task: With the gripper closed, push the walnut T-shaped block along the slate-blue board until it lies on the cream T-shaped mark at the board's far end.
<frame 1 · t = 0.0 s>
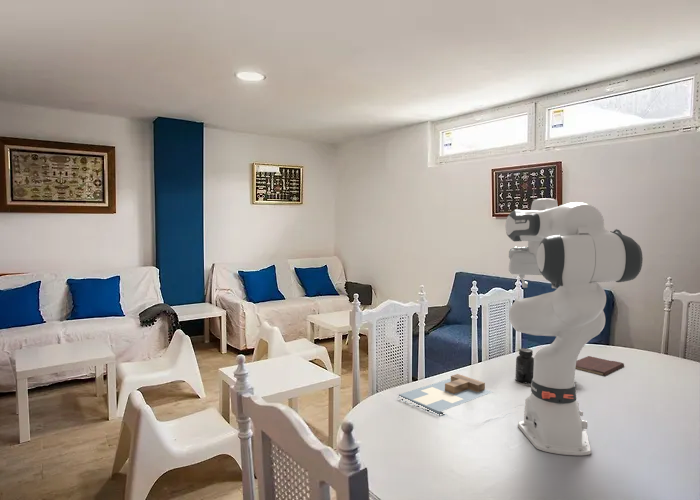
hand: (539, 287, 157), 39 cm above the table, tool pointing down, fingers open, 8 cm apart
board: (446, 397, 161), on the table
coffee mug: (560, 379, 182), on the table
notebook: (595, 368, 198), on the table
supplement bottle: (524, 381, 179), on the table
t block: (460, 388, 166), point 1 cm above the table, touching board
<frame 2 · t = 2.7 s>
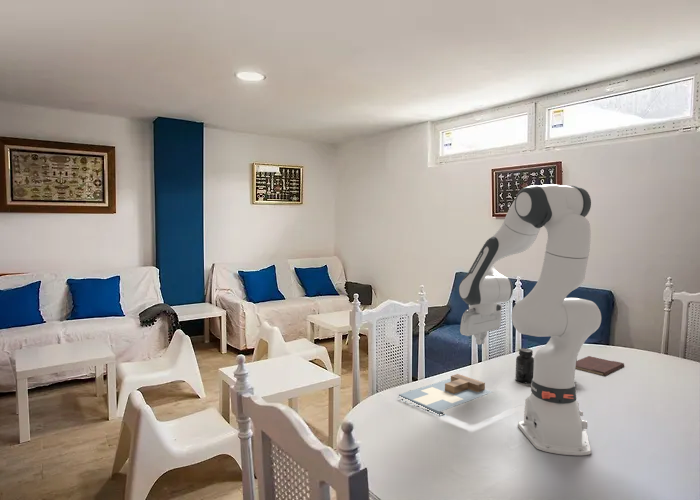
hand: (480, 343, 172), 16 cm above the table, tool pointing down, fingers closed
nothing on the table moved.
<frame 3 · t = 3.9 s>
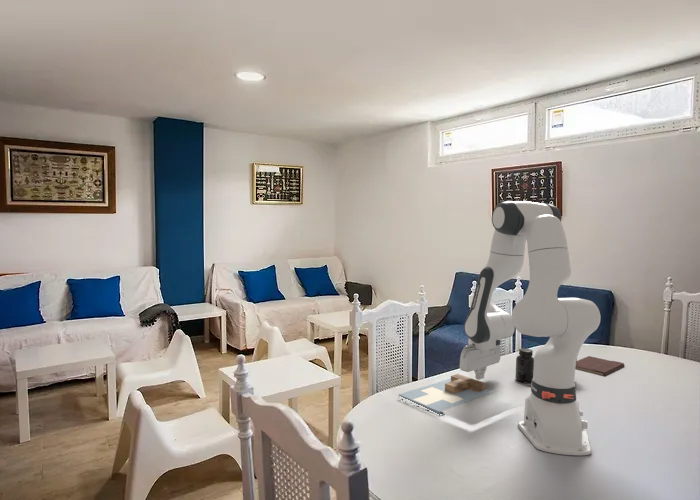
hand: (479, 378, 173), 3 cm above the table, tool pointing down, fingers closed
nothing on the table moved.
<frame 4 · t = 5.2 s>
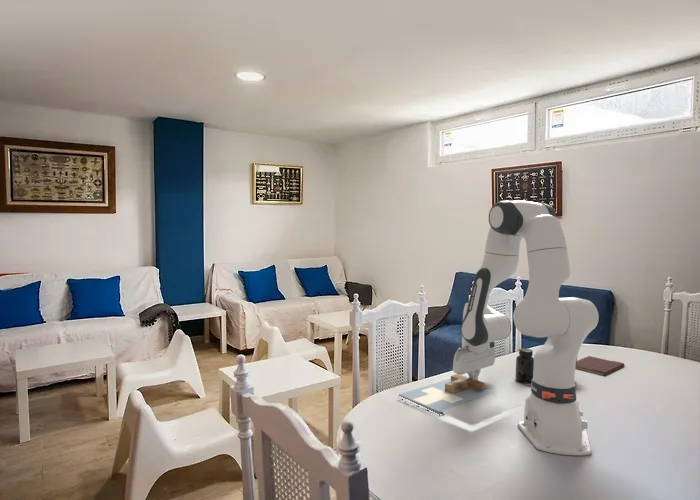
hand: (473, 381, 170), 3 cm above the table, tool pointing down, fingers closed
t block: (460, 388, 166), point 2 cm above the table, touching gripper
everything else where it was.
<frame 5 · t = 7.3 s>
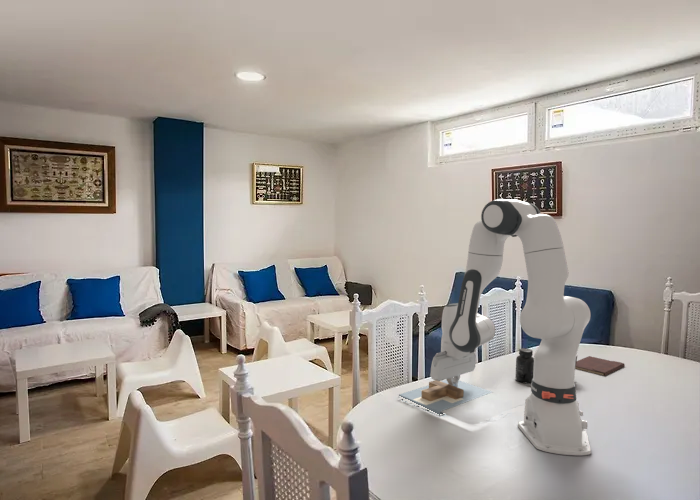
hand: (452, 387, 163), 3 cm above the table, tool pointing down, fingers closed
t block: (437, 395, 159), point 2 cm above the table, touching gripper
everything else where it was.
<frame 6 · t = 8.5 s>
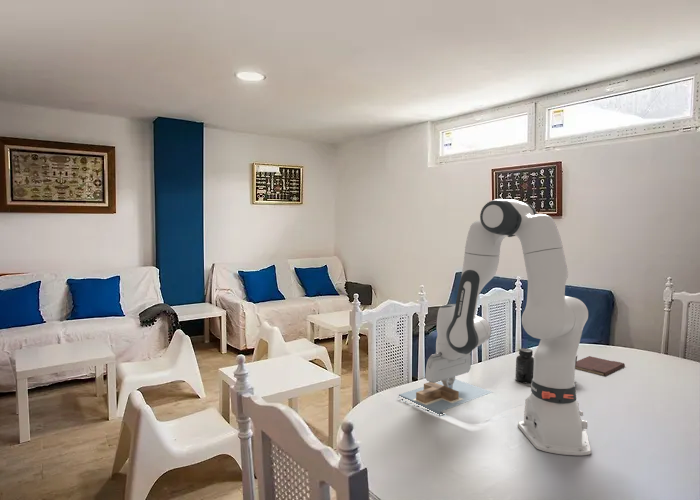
hand: (447, 389, 161), 3 cm above the table, tool pointing down, fingers closed
t block: (432, 397, 157), point 2 cm above the table, touching board, gripper
everything else where it was.
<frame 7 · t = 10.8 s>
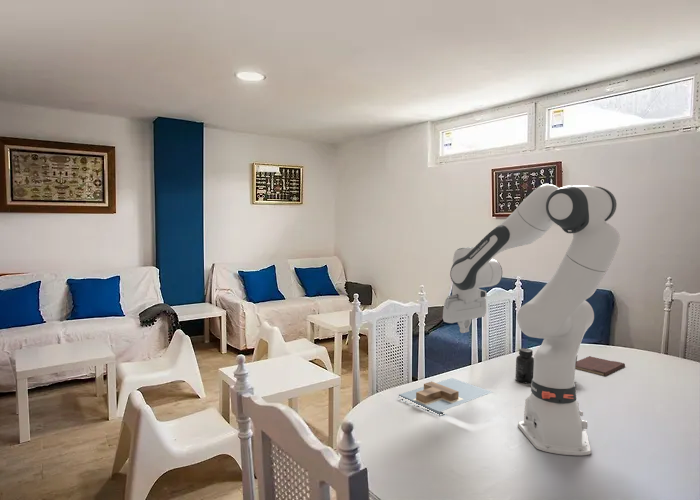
hand: (464, 332, 164), 22 cm above the table, tool pointing down, fingers closed
t block: (432, 397, 157), point 2 cm above the table, touching board
everything else where it was.
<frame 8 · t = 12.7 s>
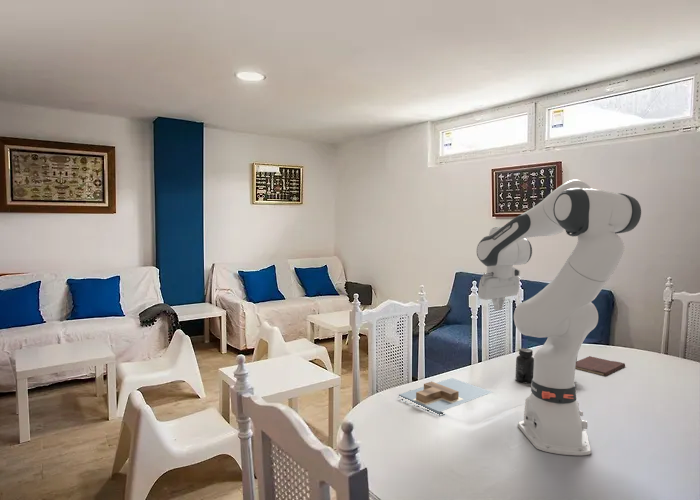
hand: (498, 309, 169), 29 cm above the table, tool pointing down, fingers closed
nothing on the table moved.
at the end: t block 0.3 cm from the target spot, point 1.5 cm above the table; t block tilted 0°; t block touching board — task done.
